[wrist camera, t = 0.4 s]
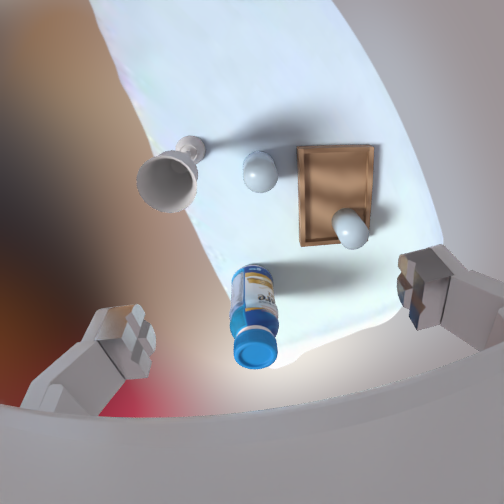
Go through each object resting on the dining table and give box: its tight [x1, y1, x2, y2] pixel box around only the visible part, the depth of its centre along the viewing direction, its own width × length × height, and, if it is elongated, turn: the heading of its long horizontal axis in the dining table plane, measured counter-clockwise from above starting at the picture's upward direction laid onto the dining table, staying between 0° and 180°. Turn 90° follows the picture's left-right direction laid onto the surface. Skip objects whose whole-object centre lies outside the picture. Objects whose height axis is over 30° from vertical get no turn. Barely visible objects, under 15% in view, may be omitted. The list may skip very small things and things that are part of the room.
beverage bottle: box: [230, 265, 279, 369], centre depth 55 cm, size 8×8×20 cm
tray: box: [297, 145, 374, 247], centre depth 54 cm, size 18×13×2 cm
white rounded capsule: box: [332, 208, 369, 250], centre depth 54 cm, size 5×5×6 cm
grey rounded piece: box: [243, 151, 278, 193], centre depth 49 cm, size 5×5×6 cm
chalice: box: [137, 136, 205, 213], centre depth 42 cm, size 7×7×18 cm
